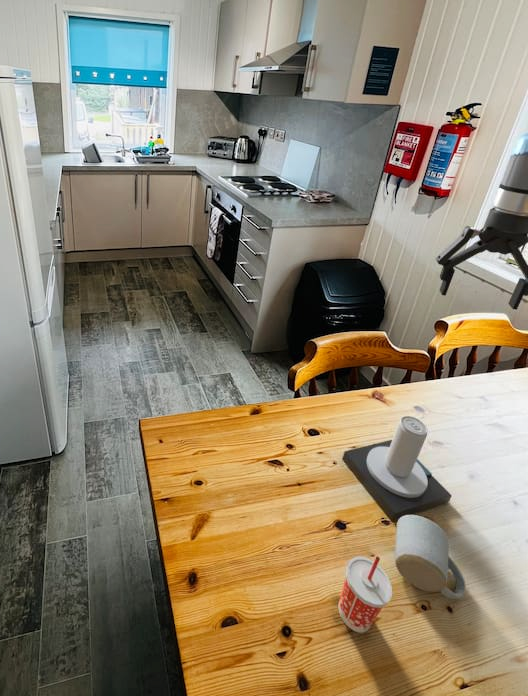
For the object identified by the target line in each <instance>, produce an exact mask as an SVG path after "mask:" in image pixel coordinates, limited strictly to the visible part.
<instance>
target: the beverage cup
mask: <svg viewBox="0 0 528 696" xmlns="http://www.w3.org/2000/svg"><path fill="white" fill-rule="evenodd" d="M380 560H381V558H380V557H379V556H375V559H374V561H373V560H372V559H369V558H367V557H365V556H354V557H352V558H350V559H349V560H348V562H347V564H346V567H345V578H344V581H343V585H342V589H341V593H340V597H339V601H338V610H337V611H338V612H339V616H340V617H341V619H342V621H343V623H344V624H345V625H346V626H347V627H348V628H349V629H350V630H352V631H354V632H356V633H361V634H363V633H365V632H367V631H369V629H370V628H371V626H372V625H373V624H374V622H375V620H376V618H377V617H378V615H379V614H380V612H381V611H382V609H383V608H384V607H386V606H387V605H388V604H389V603H390V601H391V599H392V596H393V587H392V582H391V580H390V579H389V576H388V574H387V573H386V572H385V571H384V569H383V568H382V567H381V566H380V565H379V563H380Z"/></svg>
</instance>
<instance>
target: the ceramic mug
mask: <svg viewBox="0 0 528 696" xmlns="http://www.w3.org/2000/svg"><path fill="white" fill-rule="evenodd" d="M395 534H396V535H395V548H394V549H395V550H394V560H395V561H394V563H395V566H396V569H397V571H398V573H399V574H400V575H401V576H402V578H403V579H404V580H405V581H406V582H408V583H409V584H410V585H412V586H414V587H416V588H418V589H420V590H423V591H426V592H433V593H434V592H440V593H441V594H442V595H444V596H446V597H447V598H449V599H453V600H456V599H460V598H462V597H464V595H465V594H466V588H467V587H466V581H465V579H464V578H465V577H464V576H463V574H462V572H461V570H460V568H459V567H458V565H457V564H456V563H455V561H454V560H453V559H452V558H451V557H450V555H449V553H450V542H449V541H450V540H449V537H448V535H447V534H446V532H445V531H444V529H442V527H441V526H439V525H438V524H437V523H436V522H434V521H432V520H430V519H429V518H426V517H424V516H421V515H418V514H414V515H405V516H402V517H401V518H400V519H398V520H397V522H396V533H395ZM449 570H450V572H451V574H452V575H453V577H454V580H455V590H454V592H453V591H452V590H450V588H448V587H447V582H448V576H449Z"/></svg>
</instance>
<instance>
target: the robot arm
mask: <svg viewBox="0 0 528 696" xmlns="http://www.w3.org/2000/svg"><path fill="white" fill-rule="evenodd" d="M477 236H478V238H479V240H478V241H477V240H476V241H475V242H474V243H472V245H470V246H469V247H467V248H464V249H463V250H462V251H460V250H461V249H462V248H463V247H464V246H465V245H466V244H468V243H469V241H470V240H471V239H474V238H475V237H477ZM526 244H528V133H527V132H526V133H524V134H522V135H520V137H519V138H518V139H517V142H516V144H515V145H514V147H513V150H512V152H511V154H510V155H509V158H508V162H507V164H506V168H505V170H504V173H503V175H502V178H501V181H500V184H499V186H498V189H497V191H496V193H495V196H494V198H493V202H492V208H490V209H489V211H488V214H487V216H486V218H485V222H484V224H483V226H482V228H481V229H476V228H473V227H471V226H470V225H466V226H464V228H463V230H462V231H461V234H460V235H459V236H457V238H456V239H455V240H453V242H452V243H450V244H449V245H448V246H447V247H446V248H445V249H444V250H442V251H441V253H439V254H438V255H437V256H436V257H435V261H436V262H437V264H438V265H441V266H442V267H441V271H440V274H439V278H440V281H442V282H441V285H440V287H439V292H440V294H441V296H445V297H446V296H447V293H448V291H449V289H450V285H451V283H452V280H453V278H454V274H455V272H456V270H455V267H457V266H458V265H460V264H462V263H463V262H466V261H467V260H469V259H470V258H472V257H475V256H476V255H478V254H481V253H484V252H486V251H487V252H488V253H493V254H495V253H496V254H497V253H498V254H501V255H506V256H507V255H509V254H510V255H511V256H512V258H513V260H514V261H515V263H516V265H517V266H518V268H519V270H520V272H521V273H522V275H523V277H524V278H523V277H519V278H518V281H517V283H516V286H515V288H514V290H513V292H512V295H511V297H510V299H509V301H508V303H507V304H508V305H509V307H510V308H511V309H512V310H516V311H517V310H518V308H519V306H520V304H521V302H522V300H523V298H524V297H528V263H527V261H526V259H525V258H524V256H523V253H522V252H521V250H520V248H522V247H523V246H525V245H526ZM458 251H459V252H458ZM456 253H457V254H456Z"/></svg>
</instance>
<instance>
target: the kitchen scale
mask: <svg viewBox="0 0 528 696" xmlns="http://www.w3.org/2000/svg"><path fill="white" fill-rule="evenodd" d="M391 442H392V439H388V440H385V441H381V442H377V443H372V444H368V445H364V446H360V447H356V448H352V449H348V450H344V451H343V455H342V457H341V459H342V461H343V462H344V463H345V465H346V466H347V467H348V469H349V470H350V471H351V472H352V474H353V475H354V476H355V477H356V479H357V480H358V481H359V482H360V483H361V485H362V486H363V487H364V488H365V490H366V491H367V492H368V494H369V495H370V496H371V497H372V499H373V500H374V502H376V504H377V506H379V508H380V509H381V510H382V512H383V513H384V514H385V515H386V517H387V519H389V520H390V521H391V522H394V521H398V520H399V519H400V518H401V517H402V516H405V515H418V514H420V513H423V512H426V511H429V510H432V509H436V508H439V507H442V506H445V505H448V504H449V502H450V501H451V499H452V494H451V493H450V492H449V491H448V490H447V489H446V488H445V487H444V486H443V485H442V484H441V483H440V482H439V481H438V480H437V479H436V478H435V477H434V476H433V473H432V472H431V471H430V470H429V469H428V468H427V467H426V466H425V465H424V464H423V463H422V462H421V461H420V460H419V459H418V458H417V460H416V462H415V465H414V467H413V469H412V472H411V474H410V475H409V476H408V477H398V476H395V475H394V474H392V473H391V472H390V471H389V470H388V469H387V467H386V465H385V458H386V455H387V453H388V450H389V447H390V445H391Z"/></svg>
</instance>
